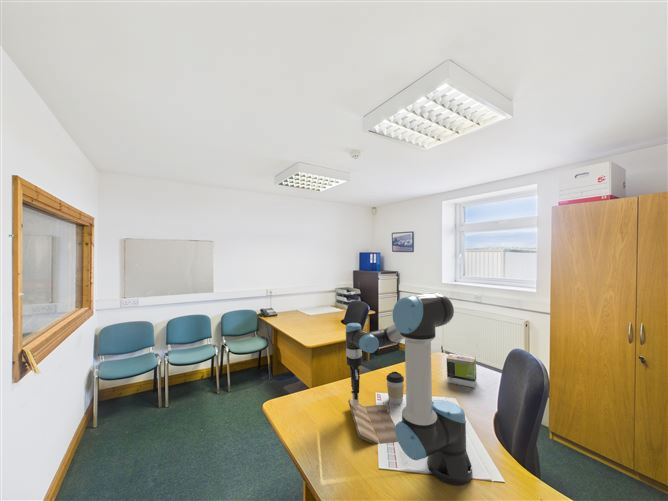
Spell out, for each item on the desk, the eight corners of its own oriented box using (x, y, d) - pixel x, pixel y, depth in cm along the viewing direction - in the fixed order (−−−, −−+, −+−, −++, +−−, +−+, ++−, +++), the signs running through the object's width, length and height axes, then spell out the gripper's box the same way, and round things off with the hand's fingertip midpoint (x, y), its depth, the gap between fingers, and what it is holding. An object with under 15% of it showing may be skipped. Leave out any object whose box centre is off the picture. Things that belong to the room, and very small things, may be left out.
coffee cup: (405, 408, 144) (404, 378, 144) (386, 406, 146) (386, 377, 146) (404, 398, 153) (403, 371, 153) (387, 397, 155) (386, 370, 155)
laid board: (403, 444, 118) (403, 441, 118) (379, 446, 117) (379, 443, 117) (384, 407, 146) (384, 404, 146) (365, 408, 145) (365, 406, 145)
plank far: (369, 425, 131) (371, 422, 131) (352, 416, 130) (354, 414, 130) (363, 408, 144) (364, 406, 144) (348, 401, 143) (349, 398, 143)
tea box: (476, 381, 170) (476, 356, 170) (474, 388, 162) (474, 362, 162) (450, 376, 178) (449, 352, 178) (446, 382, 170) (446, 357, 170)
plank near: (377, 446, 117) (379, 443, 117) (358, 436, 116) (360, 433, 116) (369, 425, 130) (371, 423, 130) (352, 417, 129) (354, 414, 130)
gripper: (364, 360, 131) (366, 411, 131) (359, 350, 144) (360, 397, 144) (348, 361, 130) (350, 413, 130) (344, 351, 143) (345, 398, 143)
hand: (355, 404), depth 137 cm, fingers closed
